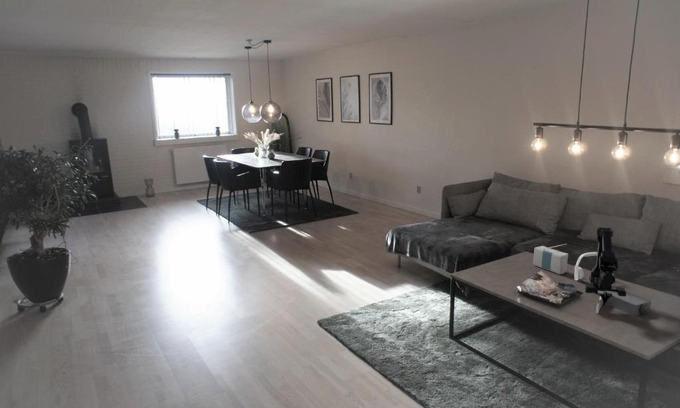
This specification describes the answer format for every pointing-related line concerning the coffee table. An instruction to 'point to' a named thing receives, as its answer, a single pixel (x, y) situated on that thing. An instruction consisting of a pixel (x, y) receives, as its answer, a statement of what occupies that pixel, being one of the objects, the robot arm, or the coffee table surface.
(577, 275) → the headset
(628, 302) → the grey slab
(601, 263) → the robot arm
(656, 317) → the coffee table surface
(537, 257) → the stereo radio cassette player
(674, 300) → the coffee table surface
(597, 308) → the side door
